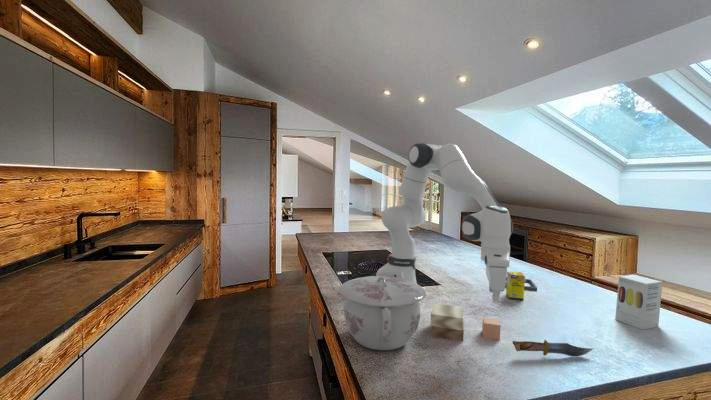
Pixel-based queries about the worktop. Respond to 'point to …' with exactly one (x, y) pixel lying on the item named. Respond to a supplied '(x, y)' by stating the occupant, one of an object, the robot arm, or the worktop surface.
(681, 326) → the worktop surface
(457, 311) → the birch slab
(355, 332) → the chamber pot
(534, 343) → the knife
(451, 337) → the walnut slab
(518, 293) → the supplement box
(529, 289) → the grey square frame
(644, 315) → the supplement box
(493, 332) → the terracotta block
